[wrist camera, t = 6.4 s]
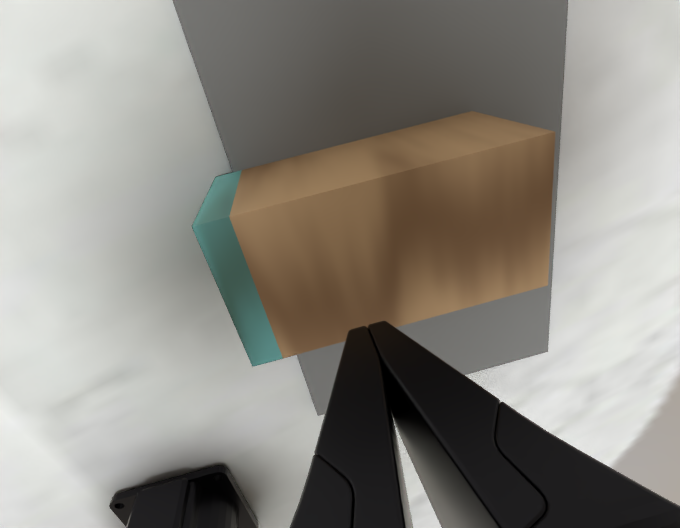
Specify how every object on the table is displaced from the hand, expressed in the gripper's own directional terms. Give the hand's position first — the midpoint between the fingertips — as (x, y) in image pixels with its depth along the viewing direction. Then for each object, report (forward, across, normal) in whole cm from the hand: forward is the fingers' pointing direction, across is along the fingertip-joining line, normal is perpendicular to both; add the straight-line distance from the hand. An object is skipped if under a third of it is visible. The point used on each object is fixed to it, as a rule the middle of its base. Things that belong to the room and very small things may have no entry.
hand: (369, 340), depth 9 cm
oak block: (+6, +4, 0) cm, 7 cm away
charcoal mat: (+8, -4, +1) cm, 9 cm away
